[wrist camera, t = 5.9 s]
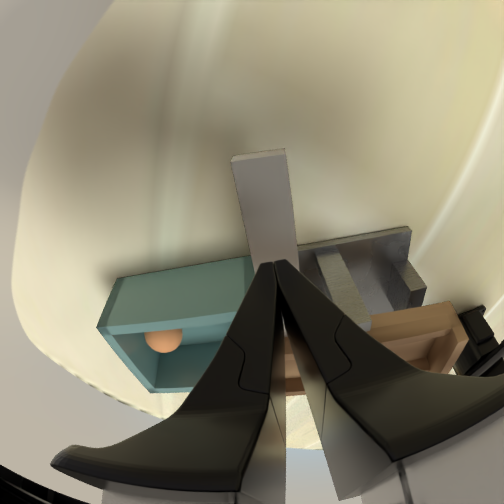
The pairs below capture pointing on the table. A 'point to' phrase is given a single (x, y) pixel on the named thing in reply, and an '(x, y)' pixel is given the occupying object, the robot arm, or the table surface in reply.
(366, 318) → the stand
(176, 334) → the ball
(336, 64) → the table surface
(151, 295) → the bin
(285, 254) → the lever
